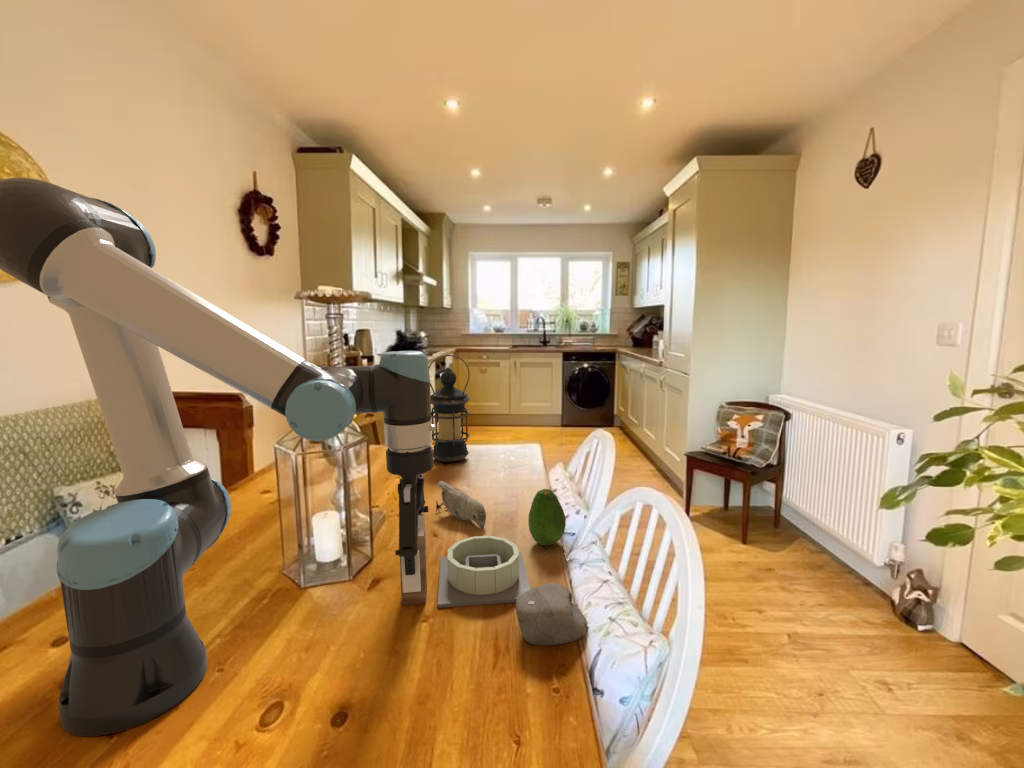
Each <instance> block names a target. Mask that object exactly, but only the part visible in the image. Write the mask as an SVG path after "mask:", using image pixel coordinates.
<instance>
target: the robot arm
mask: <svg viewBox="0 0 1024 768" xmlns="http://www.w3.org/2000/svg"><path fill="white" fill-rule="evenodd" d="M156 256H157V253H156V246H155V243H154V240H153V238H152V236H151V234H150V232H149V231H148V230H147V228H146V227H145V226H144V225H143V223H141V222H140V221H139V220H138V219H137V218H136V217H134V216H133V215H132V214H130V213H128V212H127V211H125V210H123V209H122V208H121V207H118V206H116V205H114V204H113V203H110V202H108V201H105V200H102V199H98V198H94V197H89V196H87V195H83V194H81V193H78V192H75V191H72V190H70V189H68V188H64V187H62V186H60V185H58V184H54V183H52V182H49V181H45V180H41V179H37V178H28V177H10V178H4V179H0V271H2V272H4V273H5V274H7V275H9V276H11V277H12V278H14V279H16V280H18V281H20V282H21V283H23V284H25V285H27V286H29V287H31V288H33V289H34V290H36V291H38V292H40V293H41V294H43V295H46V296H47V300H48V302H49V303H51V304H52V305H53V306H56V307H58V308H59V309H61V310H64V311H65V312H66V314H68V316H69V318H70V321H71V324H72V327H73V331H74V333H75V337H76V340H77V342H78V345H79V349H80V352H81V354H82V358H83V360H84V364H85V366H86V370H87V372H88V375H89V378H90V381H91V383H92V387H93V390H94V392H95V396H96V399H97V401H98V405H99V408H100V410H101V413H102V417H103V420H104V422H105V426H106V428H107V431H108V434H109V438H110V441H111V444H112V447H113V449H114V453H115V456H116V459H117V461H118V465H119V467H120V471H121V474H122V480H121V481H120V482H119V484H118V485H117V487H116V488H115V490H114V496H115V499H116V501H117V503H115V504H111V505H108V506H106V508H104V509H100V510H94V511H92V512H90V513H88V514H86V515H84V516H82V517H80V518H79V519H77V520H76V521H74V522H73V523H72V524H71V525H70V526H68V527H67V528H66V529H65V530H64V531H63V533H62V534H61V536H60V538H59V540H58V543H57V547H56V549H57V551H56V552H57V560H56V573H57V576H58V578H59V582H60V583H59V584H60V589H61V596H62V601H63V602H62V603H63V609H64V614H65V621H66V627H67V635H68V640H69V641H68V642H69V646H70V647H69V648H70V657H69V660H68V665H67V668H66V672H65V674H64V678H63V682H62V686H61V690H60V694H59V697H58V701H57V702H58V703H57V705H58V706H57V708H58V714H59V720H60V724H61V727H62V728H63V730H65V731H66V732H68V733H69V734H72V735H75V736H80V737H97V736H98V737H99V736H106V735H110V734H111V735H112V734H115V733H118V732H119V733H120V732H122V731H125V730H129V729H131V728H134V727H137V726H140V725H142V724H145V723H146V722H149V721H151V720H152V719H154V718H157V717H159V716H160V715H162V714H165V712H167V711H168V710H170V709H172V708H174V707H175V706H176V705H178V704H179V703H180V702H182V701H183V700H184V699H185V698H187V697H188V696H189V695H190V694H191V693H192V692H193V691H194V690H195V689H196V688H197V686H199V684H200V683H201V681H202V680H203V678H204V676H205V675H206V672H207V668H208V659H207V658H208V657H207V649H206V645H205V644H204V642H203V641H202V639H201V638H200V636H199V634H198V632H197V630H196V629H195V627H194V625H193V624H192V621H190V619H189V617H188V615H187V609H186V599H185V589H184V581H183V580H184V575H185V574H186V573H187V572H188V571H189V569H191V568H192V567H193V566H194V564H195V563H196V562H197V561H198V560H199V559H200V558H201V556H203V554H204V553H205V552H206V551H207V550H208V549H210V548H211V547H212V546H214V544H215V543H216V542H217V541H218V539H219V538H220V537H221V536H222V534H223V532H224V530H225V528H226V526H227V525H228V523H229V520H230V517H231V513H232V502H231V498H230V495H229V493H228V490H227V489H226V488H225V486H224V485H223V484H222V483H221V482H220V481H219V480H216V479H214V478H213V476H211V475H210V471H209V468H208V465H207V463H206V462H204V461H201V460H198V459H197V458H194V457H193V455H192V453H191V449H190V446H189V442H188V438H187V436H186V433H185V430H184V427H183V424H182V420H181V416H180V414H179V410H178V406H177V403H176V400H175V397H174V394H173V391H172V387H171V384H170V381H169V378H168V375H167V371H166V368H165V366H164V365H165V364H164V361H163V358H162V356H161V352H160V348H161V349H162V350H164V351H166V352H168V353H169V354H171V355H173V356H175V357H176V358H178V359H180V360H182V361H184V362H186V363H188V364H189V365H191V366H194V367H195V368H197V369H199V370H201V371H202V372H204V373H206V374H208V375H210V376H211V377H213V378H215V379H217V380H218V381H220V382H223V383H224V384H226V385H228V386H229V387H231V388H233V389H235V390H237V391H238V392H240V393H242V394H244V395H246V396H248V397H249V398H251V399H252V400H255V401H257V402H258V403H260V404H262V405H264V406H266V407H267V408H269V409H271V410H273V411H275V412H276V413H278V414H280V415H281V416H283V417H285V418H286V422H287V423H288V425H289V427H290V428H291V430H292V431H293V432H294V433H295V434H296V435H298V436H299V437H301V438H303V439H306V440H309V441H313V442H319V441H321V442H323V441H327V440H330V439H333V438H335V437H337V436H338V435H340V434H341V433H342V432H344V430H345V429H346V428H348V427H349V426H350V425H351V423H352V422H353V420H354V418H355V415H357V414H371V413H373V414H375V413H376V414H377V413H383V429H384V430H383V431H384V432H383V433H384V434H383V435H384V446H385V447H386V448H387V449H386V451H385V459H386V460H385V461H386V462H385V463H386V471H387V472H388V473H389V474H390V475H394V476H399V477H400V478H399V483H398V484H397V494H398V516H399V517H398V533H399V534H398V549H395V556H398V557H399V558H400V557H401V569H402V587H403V593H407V592H420V591H421V579H420V560H419V550H418V528H425V542H426V543H427V536H426V535H427V534H426V533H427V531H426V515H425V514H426V513H429V506H428V505H425V504H426V500H425V477H424V476H423V474H426V473H428V472H429V471H430V472H431V470H432V469H433V467H434V458H433V450H434V446H432V445H431V444H432V443H433V440H432V431H435V430H436V427H435V424H433V425H432V417H431V412H432V404H431V395H432V393H431V386H430V383H431V378H430V377H431V375H430V368H429V365H430V364H429V359H428V355H426V354H425V352H423V351H419V350H398V351H396V350H395V351H386V352H383V353H381V354H380V359H379V364H374V365H356V366H355V365H350V366H349V365H348V366H347V365H346V366H327V365H326V366H325V365H324V366H317V365H316V364H314V363H312V362H310V361H309V360H306V358H304V357H303V356H301V355H299V354H297V353H296V352H294V351H292V350H291V349H289V348H287V347H285V346H284V345H282V344H280V343H279V342H277V341H275V340H274V339H272V338H270V337H269V336H268V335H265V334H263V333H262V332H260V331H258V330H256V329H255V328H253V327H252V326H250V325H248V324H246V323H245V322H244V321H242V320H240V319H238V318H237V317H235V316H233V315H232V314H230V313H229V312H226V311H225V310H223V309H222V308H219V307H218V306H216V305H215V304H213V303H212V302H210V301H207V300H206V299H205V298H203V297H201V296H199V295H198V294H196V293H195V292H192V291H191V290H189V289H188V288H186V287H184V286H182V285H181V284H179V283H177V282H176V281H174V280H172V279H170V278H169V277H168V276H166V275H164V274H162V273H160V272H159V271H158V270H155V269H154V266H155V264H156V259H157V257H156ZM435 432H436V431H435Z"/></svg>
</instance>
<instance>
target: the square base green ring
mask: <svg viewBox="0 0 1024 768" xmlns="http://www.w3.org/2000/svg"><path fill="white" fill-rule="evenodd" d="M438 579H439V581H438V590H437V591H438V592H437V593H438V594H437V608H450V607H452V608H453V607H454V608H455V607H465V606H466V607H467V606H478V605H481V606H483V605H493V604H497V605H498V604H508V603H509V604H510V603H516V601H517V599H518V597H519V596H520V595H521V594H523V593H524V592H527V591H529V590H531V589H532V587H531V584H530V580H529V576H528V572H527V568H526V565H525V561H524V558H523V553H522V552H521V551H519V548H518V545H517V544H515V543H514V542H512V541H511V540H509V539H508V538H503V537H500V536H499V537H498V536H494V535H480V536H479V535H476V536H471V537H467V538H464V539H461V540H458V541H456V542H455V543H453V544H452V545H451V546H450V547H449V548H447V556H440V563H439V578H438Z"/></svg>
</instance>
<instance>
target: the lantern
mask: <svg viewBox="0 0 1024 768" xmlns="http://www.w3.org/2000/svg"><path fill="white" fill-rule="evenodd" d="M445 357H453V358H454V357H455V358H457V359H459V360H460V361H462V362H463V364H465V366H466V369H467V372H468V373H467V374H468V376H467V382H466V383H465V386H464V389H463V390H461V389H459V388H457V387H454V385H456V383H457V373H455V372H454V371H453V370H452V368H451V367H450V366H449V367H446V368H445V369H444V371H442V373H441V374H440V382H441V384H442V386H443V387H441V388H440V389H438V390H436V391H435V390H434V388H433V386H432V383H431V382H430V389H431V391H432V393H431V405H432V407H431V425H435V427H436V430H435V432H434V431H431V432H432V442H435V443H434V445H433V459H435V460H437V461H439V462H443V463H445V462H446V463H448V462H449V463H455V462H458V461H462V460H465V459H466V457H467V456H468V455H469V453H470V452H469V450H468V447H467V442H468V439H469V438H470V437H471V435H470V434H469V432H468V431H469V430H468V429H469V428H468V421H469V420H468V417H469V416H470V412H469V411H468V410H467V408H466V407H465V405H466V404H467V403H468V402H469V401H470V397H469V396H468V394H467V393H466V389H467V386H468V385H469V381H470V376H471V373H470V368H469V365H468V364H467V363H466V361H465V360H464V359H463V358H461V357H460V356H457V355H454V354H445V355H440V356H437V357H436V358H435V359H433V360H432V361H431V362H430V364H429V369H430V368H431V367H432V364H433V363H434V362H435V361H438V359H441V358H445ZM464 418H465V431H464ZM434 420H435V423H434ZM464 435H465V437H464Z"/></svg>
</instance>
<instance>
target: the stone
mask: <svg viewBox="0 0 1024 768" xmlns="http://www.w3.org/2000/svg"><path fill="white" fill-rule="evenodd" d="M572 599H573V594H572V592H571V591H570V589H568V588H567V587H566V586H564V585H562V584H558V583H556V582H555V583H553V582H548V583H545V584H542V585H540V586H536V587H533V588H531V590H529V591H527V592H524V593H523V594H521V595H520V596H519V597H518V599H517V601H516V602H515V613H516V618H517V622H518V624H519V625H518V626H519V628H520V632H521V634H522V637H523V638H524V640H525V641H526V642H527V643H528V644H531V645H533V646H559V645H564V644H570V643H573V642H575V641H578V640H580V639H582V638H584V637H585V636H586V633H587V630H589V629H590V627H589V626H588V621H587V618H586V616H585V615H584V614H583V612H582V611H581V609H580V608H579V607H577V606H576V605H575V604H574V603H573V602H572V601H573V600H572Z"/></svg>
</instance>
